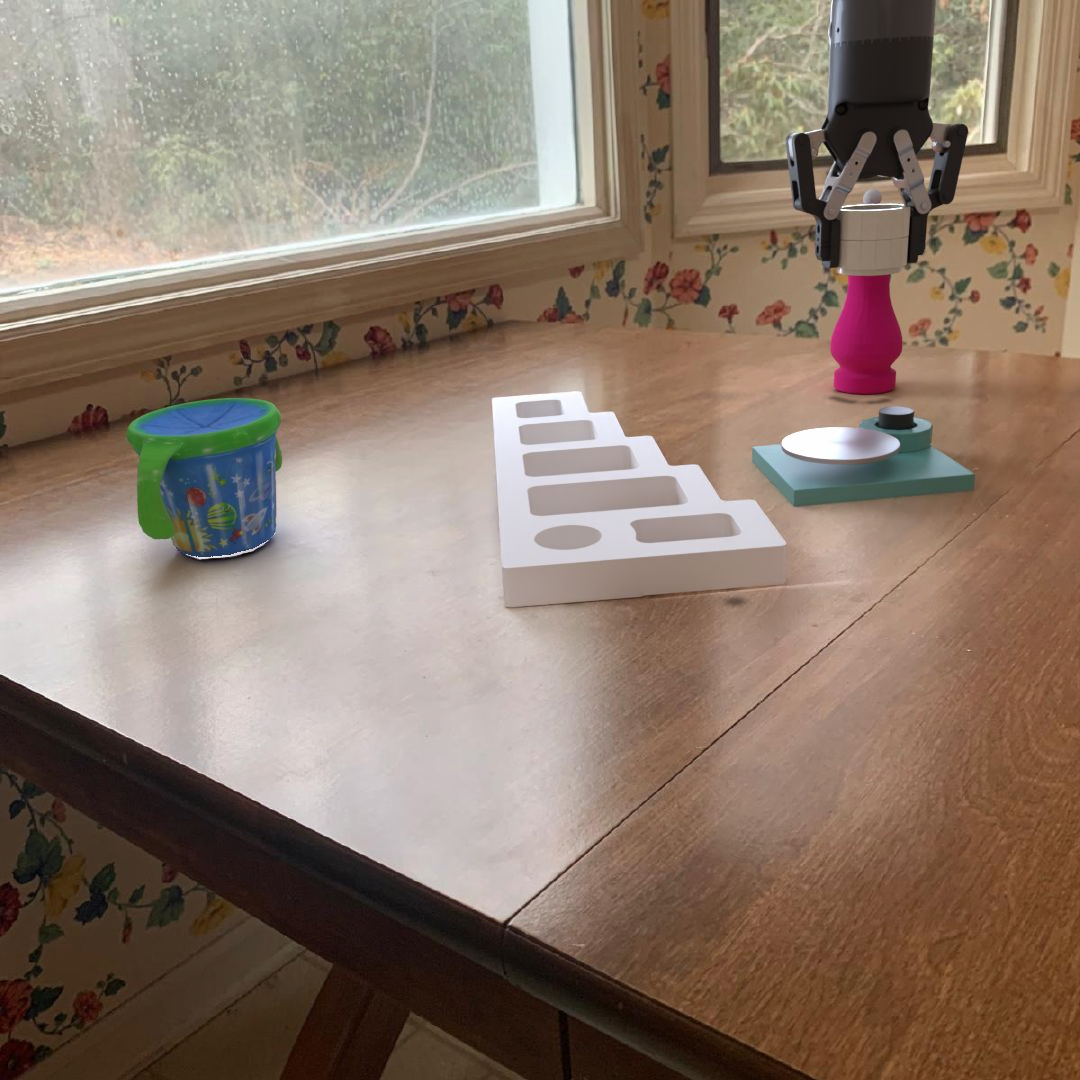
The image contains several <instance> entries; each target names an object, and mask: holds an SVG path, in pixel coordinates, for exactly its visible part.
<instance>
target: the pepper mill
mask: <svg viewBox="0 0 1080 1080" xmlns="http://www.w3.org/2000/svg"><path fill="white" fill-rule="evenodd" d="M882 196H883V195H882V193H881V192H880V191H879V190H878V189H876V188H872V189H868V190H866V192H865V193H864V194H863V198H862V202H863V205H868V204H881V203H882V199H883V197H882ZM891 275H892V274H888V275H876V276H854V275H847V289H846V290H847V291H846V297H845V301H844V305H843V307H842V310H841V312H840V314H839V317H838V319H837V321H836V323H835V325H834V328H833V330H832V334H831V338H830V346H829V352H830V355H831V357H832V358H833V359H834V361H835V362H836V363H837V364H838V365H839V367H838V368H836V369H835V370H834V371H833V388H834V389H835V390H836V391H839V392H842V393H847V394H851V395H852V394H854V395H876V394H882V393H887V392H891V391H893V390H894V389H895V388H896V385H897V383H896V382H897V371H896V369H895V368H893V367H891V366H892V365H893V364H894V363H895V361H897V360H898V359H899V357H900V356H901V353H902V352H903V335H902V329H901V326H900V324H899V321H898V318H897V315H896V313H895V310H894V307H893V304H892V299H891V289H890V287H891V286H890V285H891Z"/></svg>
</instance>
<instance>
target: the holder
mask: <svg viewBox="0 0 1080 1080" xmlns="http://www.w3.org/2000/svg"><path fill="white" fill-rule="evenodd" d="M491 404H492V405H491V406H492V407H491V409H492V424H493V425H492V426H493V441H494V442H493V443H494V459H495V476H496V491H497V492H496V493H497V494H496V495H497V508H498V509H497V511H498V513H497V514H498V527H499V529H498V531H499V544H500V545H499V546H500V561H501V576H502V586H503V587H502V588H503V599H504V606H505V607H506V608H522V607H533V606H534V607H535V606H545V605H547V606H548V605H559V604H569V603H582V602H583V603H584V602H593V601H606V600H618V599H631V598H642V597H643V598H644V596H653V595H665V594H678V593H679V594H680V593H689V592H690V593H691V592H701V591H702V592H703V591H714V590H716V591H717V590H727V589H738V588H739V589H740V588H751V587H761V586H762V587H763V586H774V585H776V586H777V585H783V584H785V583H786V582H787V542H786V541H785V539H784V538H783V536H782V535H781V533H780V532H779V531H778V530H777V528H776V526H774V524H773V523H772V521H771V520H770V519H769V517H768V516H767V514H765V512H764V510H763V509H762V508H761V506H760V505H759V504H758V503H757V501H756V500H755V499H752V498H751V499H750V498H749V499H737V500H735V499H734V500H723V499H721V497H720V496H719V494H718V493H717V491H716V489H715V488H714V487H713V484H711V482H710V481H709V479H708V477H707V476H706V473H704V471H703V469H702V468H701V466H700V465H699V464H694V463H693V464H682V465H670V464H669V463H668V461H667V460H666V458H665V456H664V454H663V452H662V451H661V448H659V446H658V444H657V441H656V440H655V438H654V436H653V435H639V436H626V435H625V433H624V431H623V428H622V427H621V424H620V423H619V420H618V418H617V416H616V414H615V411H599V412H590V411H589V408H588V406H587V403H586V401H585V398H584V396H583V393H582V391H580V390H575V391H563V392H551V393H550V392H549V393H536V394H535V393H534V394H524V395H523V394H522V395H512V396H511V395H510V396H497V397H492V398H491Z"/></svg>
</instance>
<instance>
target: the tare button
mask: <svg viewBox="0 0 1080 1080" xmlns="http://www.w3.org/2000/svg"><path fill="white" fill-rule="evenodd" d="M878 417H879V419H878V428H882V429H887V430H907V429H912V428H913V426H914V417H915V410H914V408H912V407H907V406H899V405H896V406H895V405H894V406H893V405H892V406H884V407H881V408H880V409H878Z"/></svg>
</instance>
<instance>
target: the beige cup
mask: <svg viewBox="0 0 1080 1080" xmlns="http://www.w3.org/2000/svg"><path fill="white" fill-rule="evenodd" d="M910 208H911V206H910V205H904V204H903V203H900V204H899V203H880V204H868V205H865V204H855V205H843V206H842V208H841V210H840V212H839V214H838V216H837V220H840V244H839V264H838V267H837V268H836V273H837V274H839V275H844V276H848V275H854V276H876V275H888V274H891V275H895V274H898V273H901V272H902V270H903V269H902V267H906V266H907V265H908V264H907V254H908V239H909V223H910Z"/></svg>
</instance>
